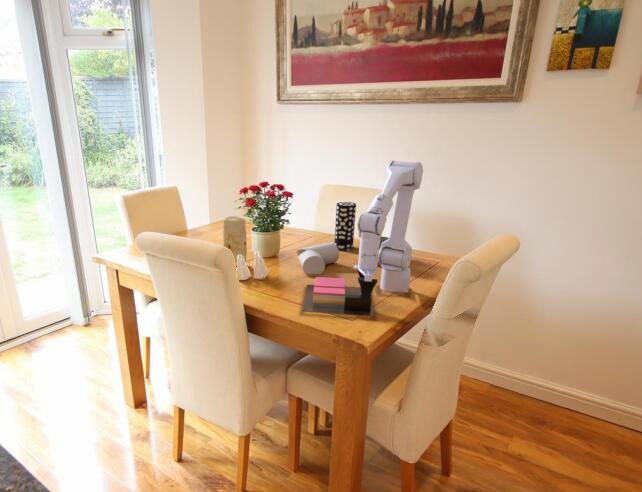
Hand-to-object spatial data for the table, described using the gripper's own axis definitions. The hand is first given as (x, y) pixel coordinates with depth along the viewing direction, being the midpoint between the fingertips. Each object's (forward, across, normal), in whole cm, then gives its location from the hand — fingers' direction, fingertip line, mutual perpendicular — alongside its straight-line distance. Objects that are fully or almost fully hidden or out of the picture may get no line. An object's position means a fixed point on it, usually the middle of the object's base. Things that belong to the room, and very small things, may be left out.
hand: (364, 294), depth 143 cm
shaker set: (+7, -24, -40) cm, 47 cm away
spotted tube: (+6, -68, -6) cm, 69 cm away
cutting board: (+6, -8, -8) cm, 13 cm away
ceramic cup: (+6, -50, +7) cm, 51 cm away
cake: (+5, -12, -11) cm, 17 cm away
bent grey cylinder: (+6, -40, -16) cm, 44 cm away
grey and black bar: (+5, 0, -7) cm, 9 cm away
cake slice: (+5, -5, -11) cm, 13 cm away
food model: (+6, -40, -50) cm, 64 cm away
